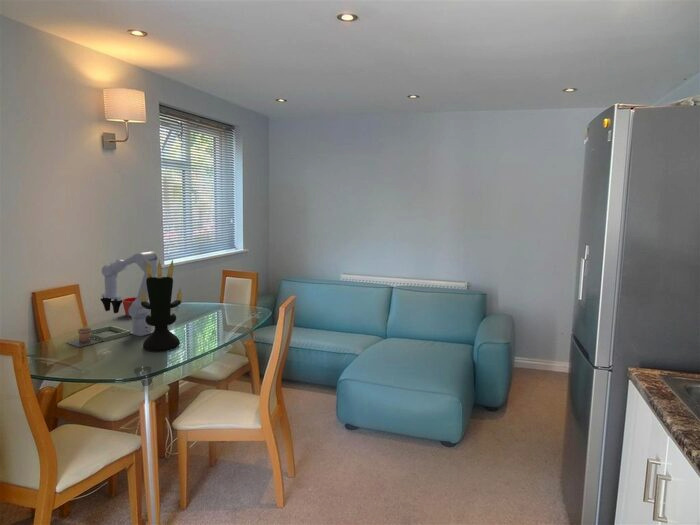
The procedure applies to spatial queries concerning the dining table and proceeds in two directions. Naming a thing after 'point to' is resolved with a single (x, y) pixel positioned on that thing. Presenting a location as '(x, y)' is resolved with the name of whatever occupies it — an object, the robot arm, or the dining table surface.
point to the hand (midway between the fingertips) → (111, 311)
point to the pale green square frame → (123, 333)
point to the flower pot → (128, 304)
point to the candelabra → (160, 309)
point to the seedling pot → (84, 335)
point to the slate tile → (78, 344)
